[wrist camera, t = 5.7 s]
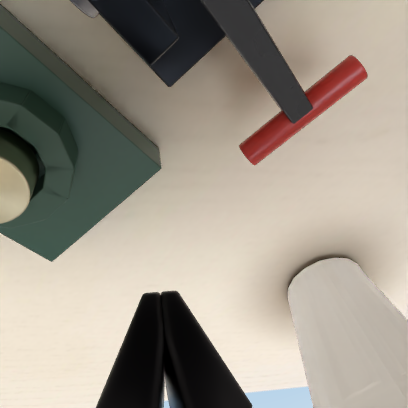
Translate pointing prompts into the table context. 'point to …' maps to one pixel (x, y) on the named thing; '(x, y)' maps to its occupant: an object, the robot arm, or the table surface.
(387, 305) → the cup
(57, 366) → the table surface
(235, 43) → the lever
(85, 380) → the table surface
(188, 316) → the robot arm
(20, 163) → the button
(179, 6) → the bracket
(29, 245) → the button box
